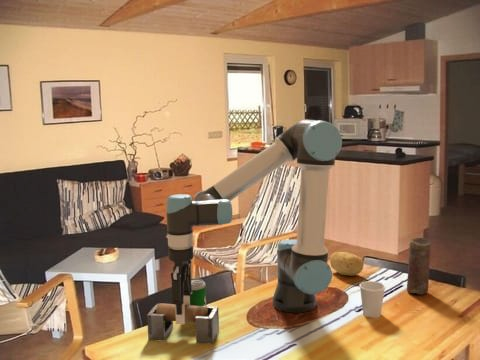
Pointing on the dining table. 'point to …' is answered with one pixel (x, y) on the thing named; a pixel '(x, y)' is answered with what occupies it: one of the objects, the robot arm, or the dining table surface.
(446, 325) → the dining table surface
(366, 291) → the dixie cup
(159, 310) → the brown wooden log
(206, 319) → the bracket
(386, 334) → the dining table surface
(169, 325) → the bracket
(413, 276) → the candle
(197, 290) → the soda can
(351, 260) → the potato
